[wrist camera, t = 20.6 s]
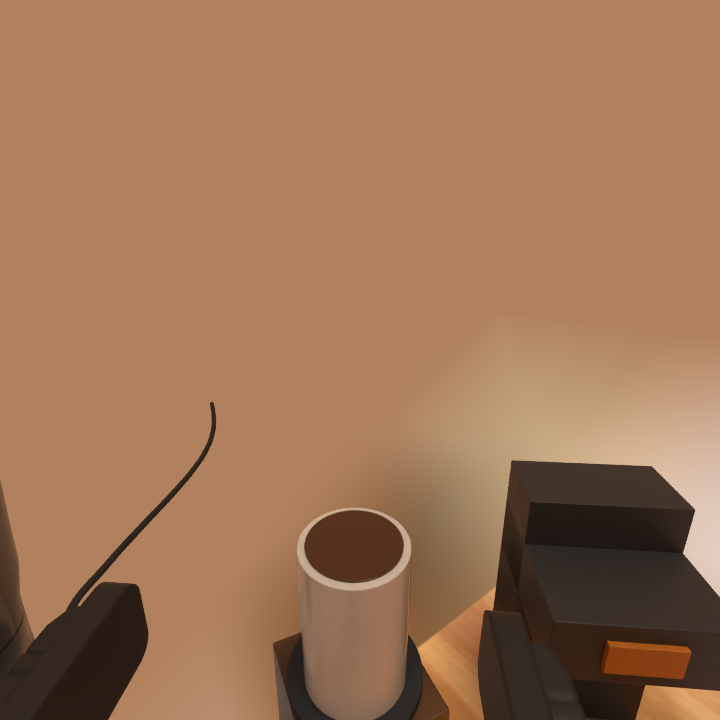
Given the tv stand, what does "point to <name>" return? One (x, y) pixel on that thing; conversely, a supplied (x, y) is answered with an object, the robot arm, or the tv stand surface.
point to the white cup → (354, 611)
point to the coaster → (312, 716)
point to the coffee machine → (608, 581)
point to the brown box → (428, 715)
